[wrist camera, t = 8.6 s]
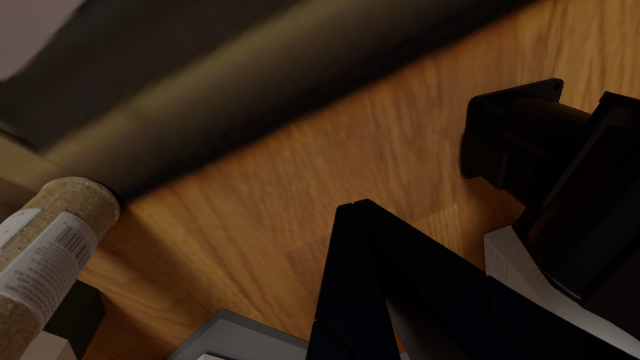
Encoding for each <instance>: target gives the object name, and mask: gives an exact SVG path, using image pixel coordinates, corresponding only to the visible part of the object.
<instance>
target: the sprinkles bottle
mask: <svg viewBox="0 0 640 360" xmlns="http://www.w3.org/2000/svg"><path fill="white" fill-rule="evenodd" d="M119 216H120V206H119V203H118V201H117V199H116V198H115V196H114V195H113V194H112V193H111V192H110V191H109V190H108V189H107V188H106V187H104V186H103V185H101V184H99V183H96V182H94V181H92V180H89V179H87V178H84V177H65V178H58V179H55V180H53V181H50V182H49V183H47V184H46V185H44V186H43V187H42V189H41V190H40V191H39V193H38V195H36V196H35V197H34V198H33V199H32V200H30V201H29V202H28V203H27V204H26V205H25V206H24V207H23V208H21V209H20V210H19V211H18V212H16V213H14V214H13V215H11V216H10V217H9V218H7V219H6V220H5V221H4V222H3V223H2V224H0V360H20V358H21V356H22V355H23V354H24V353H25V351H26V350H27V348H28V347H29V345H30V344H31V342H32V341H33V340H34V339H35V338H36V337H37V336H38V335H39V333H40V332H41V331H42V329H43V328H44V326H45V325H46V323H47V322H48V320H49V319H50V318H51V316H52V315H53V313H54V312H55V310H56V309H57V307H58V306H59V304H60V303H61V302H62V300H63V299H64V297H65V296H66V294H67V293H68V291H69V290H70V288H71V287H72V285H73V284H74V282H75V281H76V279H77V278H78V276H79V275H80V274H81V272H82V271H83V269H84V268H85V266H86V265H87V263H88V262H89V260H90V259H91V257H92V256H93V254H94V252H95V250H96V247H97V246H98V244H99V243H100V241H101V240H102V239H103V237H104V236H105V234H106V232H107V231H108V230H109V228H111V227H112V226H114V225H115V223H116V222H117V221H118V219H119Z"/></svg>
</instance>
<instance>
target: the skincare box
mask: <svg viewBox="0 0 640 360" xmlns="http://www.w3.org/2000/svg"><path fill="white" fill-rule="evenodd" d="M484 251H485V267H486V274H487V276H488V275H491V276H492V277H494V278H496V279H497V280H499V281H500V282H502V283H503V284H505V285H507V286H508V287H510V288H512V289H513V290H515V291H517V292H518V293H520V294H522V295H523V296H525V297H527V298H528V299H530V300H532V301H533V302H535V303H537V304H538V305H540V306H542V307H544V308H545V309H547V310H549V311H551V312H553V313H554V314H556V315H558V316H560V317H562V318H563V319H565V320H567V321H569V322H571V323H573V324H574V325H576V326H578V327H580V328H582V329H584V330H586V331H587V332H589V333H591V334H593V335H595V336H597V337H599V338H601V339H602V340H604V341H606V342H608V343H610V344H612V345H614V346H616V347H618V348H619V349H621V350H623V351H625V352H627V353H629V354H631V355H633V356H635V357H636V358H638V359H640V341H638V340H637V339H635V338H634V337H633V336H631V335H629V334H628V333H626V332H625V331H623V330H621V329H620V328H618V327H617V326H615V325H613V324H612V323H610V322H609V321H607V320H605V319H603V318H601V317H599V316H597V315H595V314H593V313H591V312H589V311H587V310H585V309H583V308H582V307H580V306H579V305H578V304H577V303H576V302H574V301H572V300H571V299H569V298H568V297H566V296H565V295H563V294H562V293H561V292H560V291H558V290H556V289H555V288H553V287H552V286H551V285H550V284H549V282H548V281H547V279H546V278H545V277H544V276H543V274H542V273H541V272H540V270H539V269H538V267H537V266H536V264H535V263H534V261H533V260H532V258H531V256H530V255H529V253H528V252H527V250H526V249H525V247H524V246H523V244H522V243H521V241H520V240H519V238H518V237H517V235H516V234H515V232H514V231H513V229H512V228H511V225H509V226H507V227H503V228H500V229H498V230H495V231H492V232H489V233H487V234H484Z"/></svg>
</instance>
